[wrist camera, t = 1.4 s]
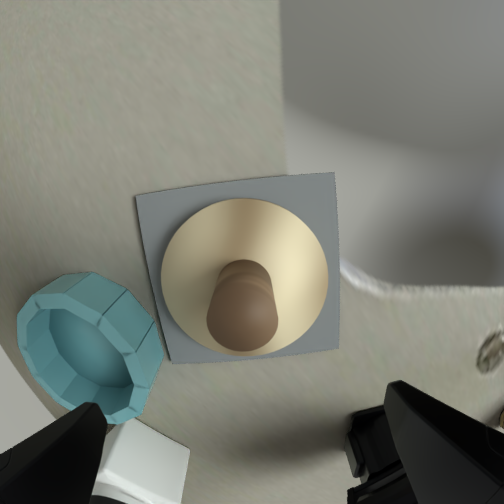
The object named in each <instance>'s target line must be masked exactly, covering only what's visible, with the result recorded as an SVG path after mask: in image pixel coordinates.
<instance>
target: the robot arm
mask: <svg viewBox="0 0 504 504" xmlns="http://www.w3.org/2000/svg"><path fill="white" fill-rule="evenodd" d="M107 426H108V423H107V419H106V417H105V415H104V414H103V412H102V410H101V408H100V406H99V405H98V404H97V403H95V402H88V401H87V402H84V403H83V404H81V405H79V406H78V407H76V408H75V409H73V410H72V411H70V412H69V413H67V414H65V415H64V416H62V417H61V418H59V419H58V420H56V421H54V422H53V423H51V424H50V425H48V426H46V427H45V428H43V429H42V430H40V431H38V432H37V433H35V434H33V435H32V436H30V437H29V438H27V439H25V440H24V441H22V442H20V443H19V444H17V445H15V446H14V447H13V448H10V449H9V450H7V451H5V452H4V453H2V454H0V504H89V503H90V499H91V495H92V492H93V488H94V484H95V481H96V477H97V474H98V470H99V467H100V463H101V458H102V453H103V447H104V442H105V437H106V431H107ZM344 449H345V452H346V455H347V458H348V462H349V465H350V468H351V472H352V475H353V477H355V478H358V477H360V480H361V485H359V486H356V487H352V488H350V489H348V490H347V494H348V497H347V504H504V433H502V432H499V431H497V430H495V429H493V428H491V427H489V426H486V425H485V424H483V423H481V422H479V421H477V420H475V419H473V418H471V417H469V416H467V415H465V414H464V413H462V412H460V411H458V410H456V409H454V408H452V407H450V406H448V405H446V404H445V403H443V402H441V401H439V400H437V399H435V398H433V397H432V396H430V395H428V394H426V393H424V392H422V391H420V390H419V389H417V388H415V387H413V386H411V385H410V384H408V383H406V382H404V381H402V380H398V381H394V382H390V383H389V384H388V385H387V389H386V394H385V399H384V406H382V407H378V408H374V409H370V410H366V411H362V412H358V413H355V414H354V415H353V416H352V419H351V425H350V431H348V433H347V434H346V440H345V446H344Z"/></svg>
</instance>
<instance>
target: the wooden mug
mask: <svg viewBox="0 0 504 504" xmlns="http://www.w3.org/2000/svg"><path fill="white" fill-rule="evenodd" d="M500 427H502V428H503V429H504V410H503V412H502V414H501V417H500Z"/></svg>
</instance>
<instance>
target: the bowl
mask: <svg viewBox="0 0 504 504" xmlns="http://www.w3.org/2000/svg"><path fill="white" fill-rule="evenodd" d="M126 290H127V288H124V287H122V286H120V285H118V284H116V283H114V282H112V281H110V280H108V279H106V278H104V277H102V276H100V275H98V274H96V273H94V272H93V273H92V272H86V273H77V274H67V275H62V276H61V277H59V278H57V279H56V280H54V281H53V282H51V283H50V284H48V285H47V286H45V287H43V288H42V289H40V290H39V291H37V292H36V293H34V294H33V295H32V296H31V297H30V298H29V300H28V301H27V302H26V304H25V305H24V306H23V307H22V309H21V310H20V312H19V313H18V314H17V340H18V347H19V349H20V351H21V354H22V356H23V358H24V360H25V362H26V364H27V366H28V368H29V370H30V372H31V374H32V376H33V378H34V379H35V380H36V381H37V382H38V383H39V384H40V385H41V386H42V387H43V389H44V390H45V391H46V392H47V393H48V394H49V395H50V396H51V397H52V398H53V399H54V400H55V401H56V402H58V404H60V405H62V406H63V407H65V408H67V409H69V410H70V411H72V410H73V409H75V408H76V407H78V406H79V405H81V404H83V403H84V402H87V401H88V402H95V403H97V404H98V405H99V406H100V408H101V410H102V412H103V414H104V415H105V417H106V419H107V423H110V424H117V425H118V424H121V423H123V422H125V421H128V420H130V419H132V418H135V417H137V416H139V415H141V414H142V412H143V409H144V407H145V404H146V402H147V399H148V397H149V394H150V392H151V390H152V387H153V385H154V382H155V380H156V377H157V374H158V371H159V368H160V365H161V362H162V360H163V357H164V353H163V349H162V346H161V342H160V339H159V335H158V332H157V328H156V324H155V321H154V320H153V318H152V317H151V316H150V315H149V314H148V313H147V312H146V310H145V309H144V308H143V307H142V306H141V305H140V303H139V302H138V301H137V300H136V299H135V297H134V296H133V295H132V294H131V293H130V291H129V290H127V291H126Z"/></svg>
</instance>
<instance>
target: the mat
mask: <svg viewBox="0 0 504 504" xmlns="http://www.w3.org/2000/svg"><path fill="white" fill-rule="evenodd" d="M234 198H254V199H260V200H265V201H269V202H272V203H274V204H277V205H279V206H281V207H283V208H285V209H287V210H289V211H290V212H292V213H293V214H294V215H296V216H297V217H298V218H299V219H300V220H301V221H303V222H304V223H305V224H306V225H307V226H308V227H309V229H310V230H311V231H312V232H313V234H314V235H315V236H316V238H317V240H318V241H319V243H320V245H321V247H322V250H323V252H324V255H325V258H326V262H327V268H328V289H327V294H326V298H325V301H324V304H323V307H322V309H321V311H320V313H319V315H318V317H317V318H316V320H315V321H314V323H313V324H312V325H311V327H310V328H309V329H308V330H307V331H306V332H305V333H304V334H303V335H302V336H301V337H300V338H298V339H297V340H295V341H294V342H293V343H291V344H289V345H287V346H286V347H284V348H282V349H279V350H277V351H274V352H271V353H267V354H264V355H257V356H233V355H228V354H223V353H220V352H216V351H214V350H211V349H209V348H207V347H205V346H203V345H201V344H199V343H198V342H196V341H195V340H194V339H192V338H191V337H190V336H188V335H187V334H186V333H185V332H184V331H183V330H182V329H181V328H180V326H179V325H178V324H177V323H176V321H175V320H174V318H173V317H172V315H171V314H170V312H169V310H168V307H167V305H166V303H165V299H164V296H163V292H162V285H161V269H162V262H163V258H164V255H165V252H166V249H167V247H168V245H169V242H170V241H171V239H172V238H173V236H174V234H175V233H176V232H177V230H178V229H179V228H180V227H181V226H182V225H183V224H184V223H185V222H186V221H187V220H188V219H189V218H190V217H192V216H193V215H194V214H196V213H197V212H199V211H200V210H202V209H204V208H206V207H208V206H210V205H212V204H214V203H217V202H220V201H223V200H228V199H234ZM136 202H137V209H138V215H139V221H140V227H141V233H142V239H143V244H144V250H145V255H146V260H147V265H148V270H149V274H150V279H151V284H152V288H153V292H154V297H155V301H156V305H157V309H158V313H159V317H160V321H161V325H162V329H163V333H164V336H165V340H166V344H167V347H168V351H169V354H170V358H171V361H172V364H185V363H210V362H227V361H241V360H252V359H263V358H273V357H282V356H290V355H298V354H305V353H312V352H319V351H326V350H332V349H338V348H339V320H340V265H339V236H338V214H337V198H336V185H335V173H334V172H331V173H315V174H303V175H302V174H301V175H288V176H277V177H267V178H257V179H247V180H238V181H230V182H222V183H214V184H206V185H199V186H192V187H185V188H179V189H172V190H166V191H160V192H154V193H148V194H142V195H137V196H136Z"/></svg>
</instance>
